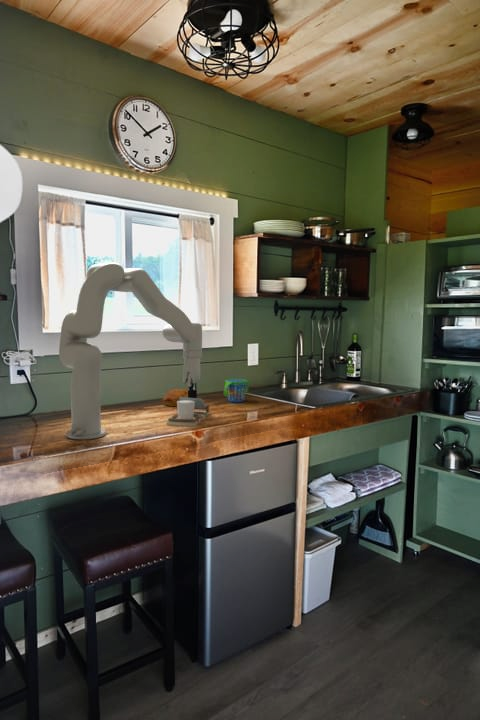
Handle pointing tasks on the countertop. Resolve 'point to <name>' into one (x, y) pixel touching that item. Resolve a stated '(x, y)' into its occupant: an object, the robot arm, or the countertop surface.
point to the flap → (196, 402)
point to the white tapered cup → (185, 409)
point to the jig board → (187, 422)
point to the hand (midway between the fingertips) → (192, 399)
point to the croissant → (174, 397)
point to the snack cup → (236, 389)
